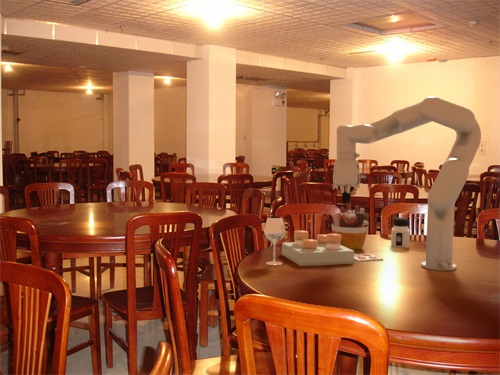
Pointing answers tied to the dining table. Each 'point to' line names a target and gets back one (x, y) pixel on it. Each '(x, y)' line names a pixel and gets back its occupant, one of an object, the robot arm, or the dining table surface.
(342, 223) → the bucket of meat
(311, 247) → the button
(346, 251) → the board
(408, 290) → the dining table surface
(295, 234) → the button
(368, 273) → the dining table surface
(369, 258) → the pattern tile
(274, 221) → the wineglass
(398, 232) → the container
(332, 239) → the button
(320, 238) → the button
